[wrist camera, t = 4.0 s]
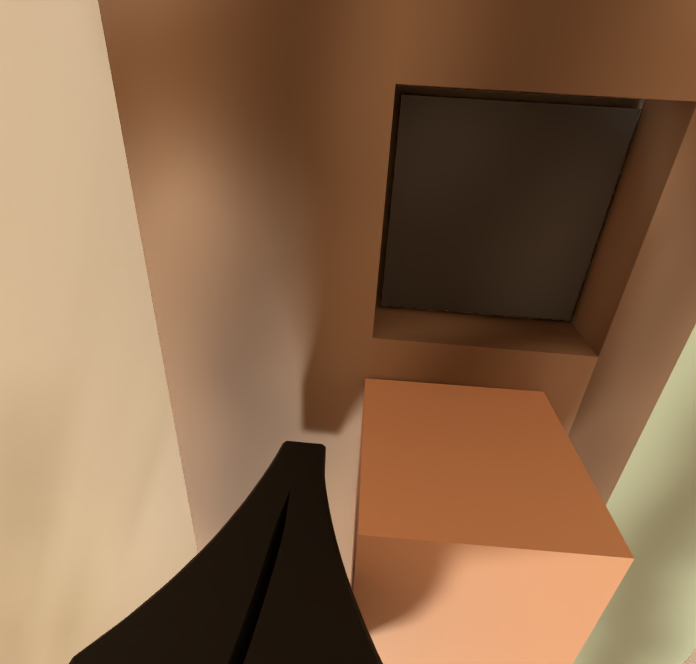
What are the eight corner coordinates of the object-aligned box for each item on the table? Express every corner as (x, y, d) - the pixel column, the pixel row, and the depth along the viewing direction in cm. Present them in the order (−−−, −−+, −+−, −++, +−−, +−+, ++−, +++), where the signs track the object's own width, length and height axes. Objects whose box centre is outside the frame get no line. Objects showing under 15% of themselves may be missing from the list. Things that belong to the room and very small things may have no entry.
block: (543, 391, 12) (634, 558, 8) (503, 511, 15) (557, 690, 10) (365, 378, 12) (357, 534, 8) (355, 499, 15) (345, 670, 11)
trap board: (1063, 31, 9) (1219, 18, 8) (647, 626, 20) (672, 676, 19) (142, -15, 10) (91, -37, 8) (225, 580, 21) (210, 624, 20)
